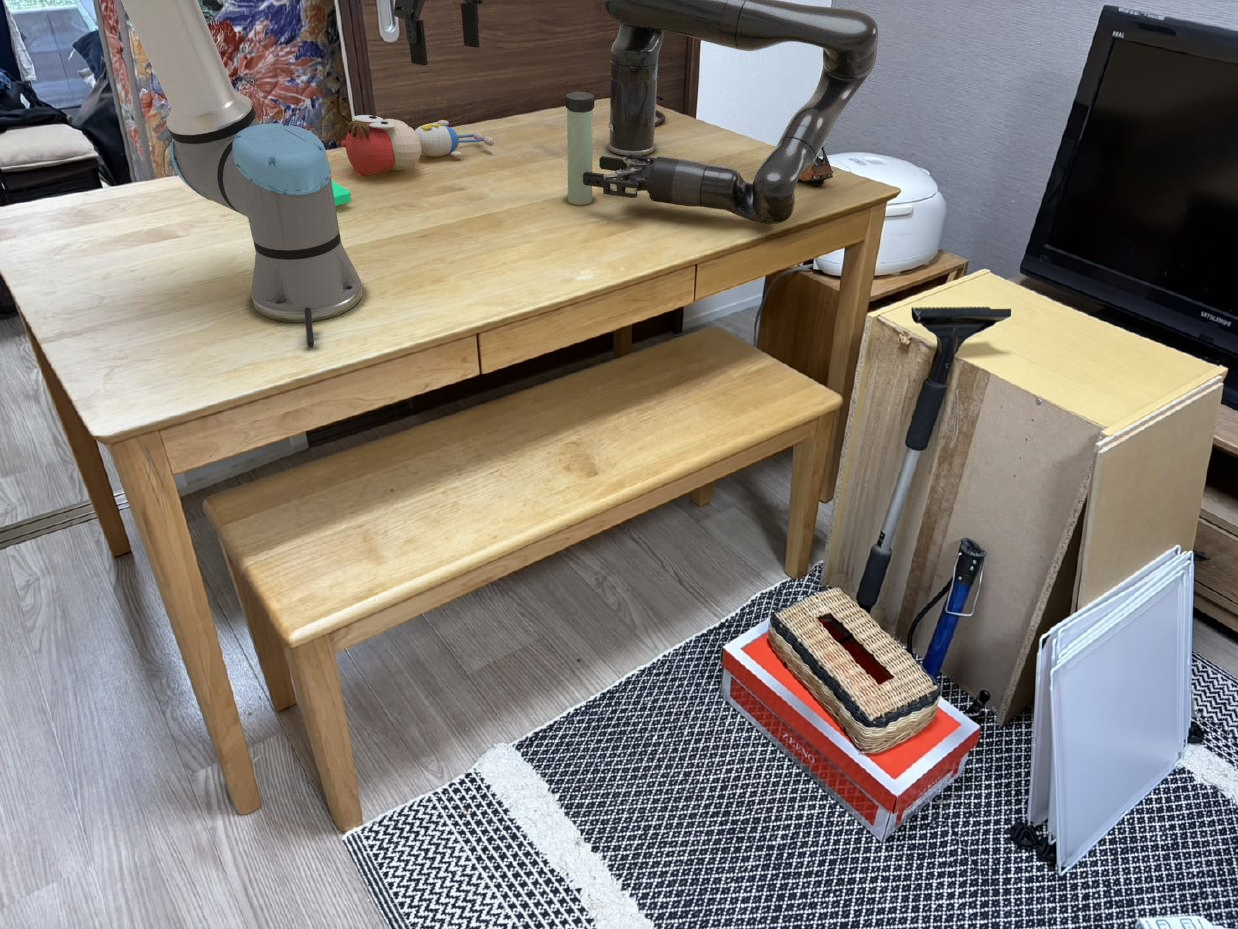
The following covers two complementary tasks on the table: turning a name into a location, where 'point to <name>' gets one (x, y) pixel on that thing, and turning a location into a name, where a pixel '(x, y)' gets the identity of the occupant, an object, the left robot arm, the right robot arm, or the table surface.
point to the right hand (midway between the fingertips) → (592, 169)
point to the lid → (580, 101)
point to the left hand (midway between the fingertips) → (446, 54)
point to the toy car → (818, 171)
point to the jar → (579, 155)
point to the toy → (399, 143)
